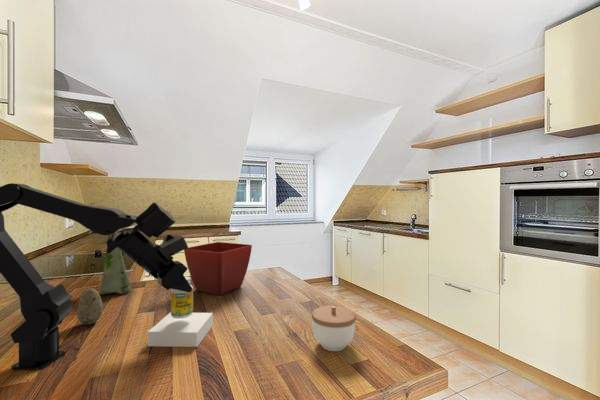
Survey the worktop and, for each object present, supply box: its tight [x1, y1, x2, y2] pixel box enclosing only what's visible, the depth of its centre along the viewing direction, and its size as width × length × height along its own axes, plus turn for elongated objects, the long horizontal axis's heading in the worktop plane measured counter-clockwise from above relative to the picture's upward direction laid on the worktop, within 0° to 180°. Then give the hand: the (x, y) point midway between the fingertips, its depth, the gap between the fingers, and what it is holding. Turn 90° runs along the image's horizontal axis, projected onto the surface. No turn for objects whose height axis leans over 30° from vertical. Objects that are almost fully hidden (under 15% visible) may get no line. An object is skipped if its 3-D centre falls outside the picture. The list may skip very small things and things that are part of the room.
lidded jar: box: [311, 305, 357, 352], centre depth 71 cm, size 11×11×9 cm
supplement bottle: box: [170, 276, 194, 319], centre depth 76 cm, size 5×5×10 cm
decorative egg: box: [76, 287, 104, 325], centre depth 82 cm, size 6×6×10 cm
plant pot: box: [183, 241, 253, 296], centre depth 115 cm, size 19×19×17 cm
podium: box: [147, 311, 214, 348], centre depth 76 cm, size 12×12×4 cm
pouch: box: [98, 232, 132, 295], centre depth 109 cm, size 11×12×25 cm
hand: (187, 288), depth 77 cm, fingers closed on supplement bottle, 5 cm apart
